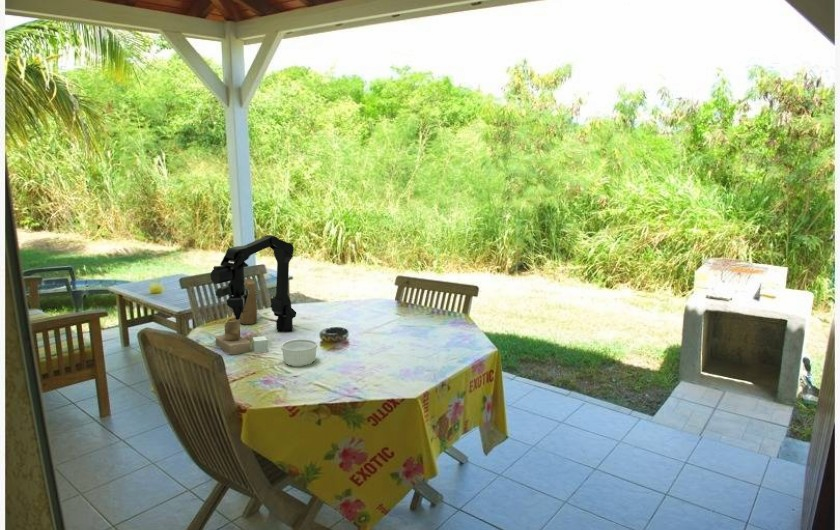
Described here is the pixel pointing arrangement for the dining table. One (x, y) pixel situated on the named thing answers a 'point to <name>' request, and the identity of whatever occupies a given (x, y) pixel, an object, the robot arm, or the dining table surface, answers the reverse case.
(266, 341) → the grey block
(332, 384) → the dining table surface
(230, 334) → the walnut block
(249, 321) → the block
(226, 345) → the brick
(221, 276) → the robot arm
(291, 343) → the ramekin
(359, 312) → the dining table surface
